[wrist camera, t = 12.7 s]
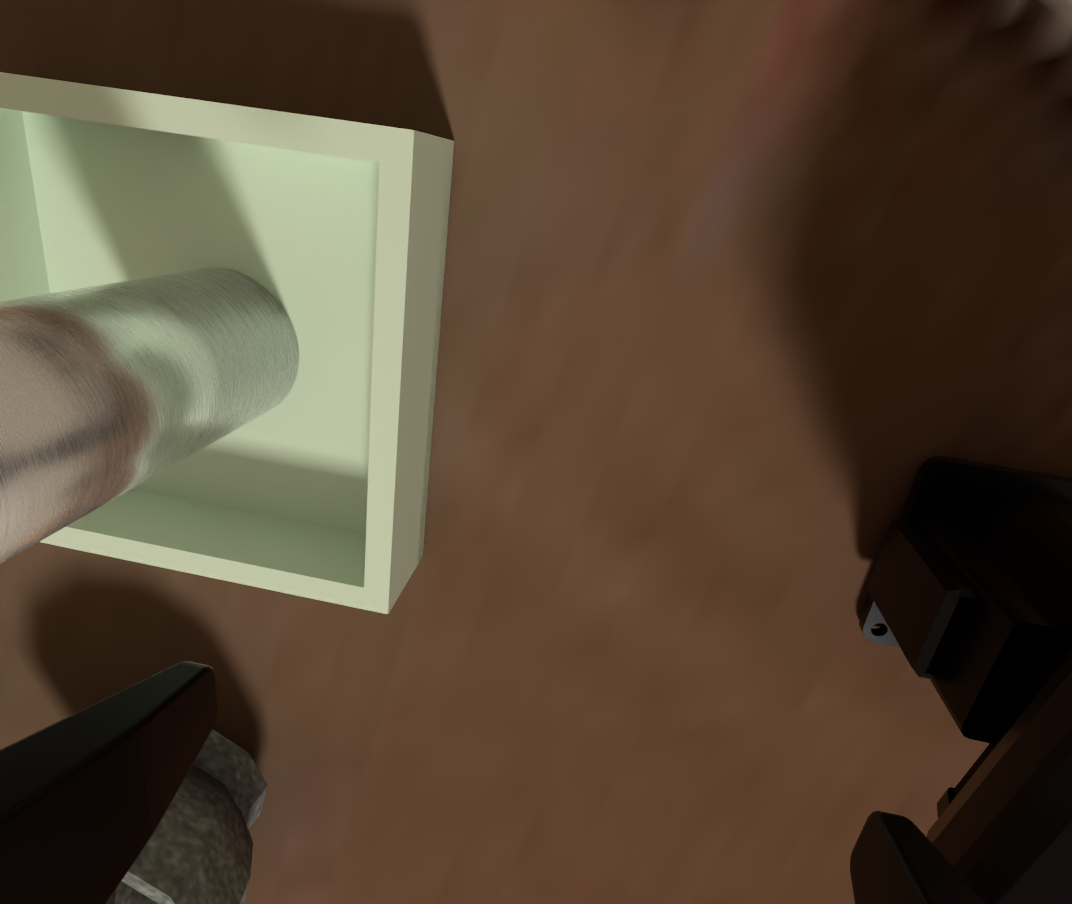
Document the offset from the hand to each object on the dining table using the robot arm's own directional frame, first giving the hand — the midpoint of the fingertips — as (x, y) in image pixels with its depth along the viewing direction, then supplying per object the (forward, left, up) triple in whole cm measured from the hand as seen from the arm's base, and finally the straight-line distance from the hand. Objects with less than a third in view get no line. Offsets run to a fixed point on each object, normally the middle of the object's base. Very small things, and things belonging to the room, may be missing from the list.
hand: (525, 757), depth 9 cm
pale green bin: (+12, -1, -13) cm, 18 cm away
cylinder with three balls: (+12, -1, -12) cm, 17 cm away
